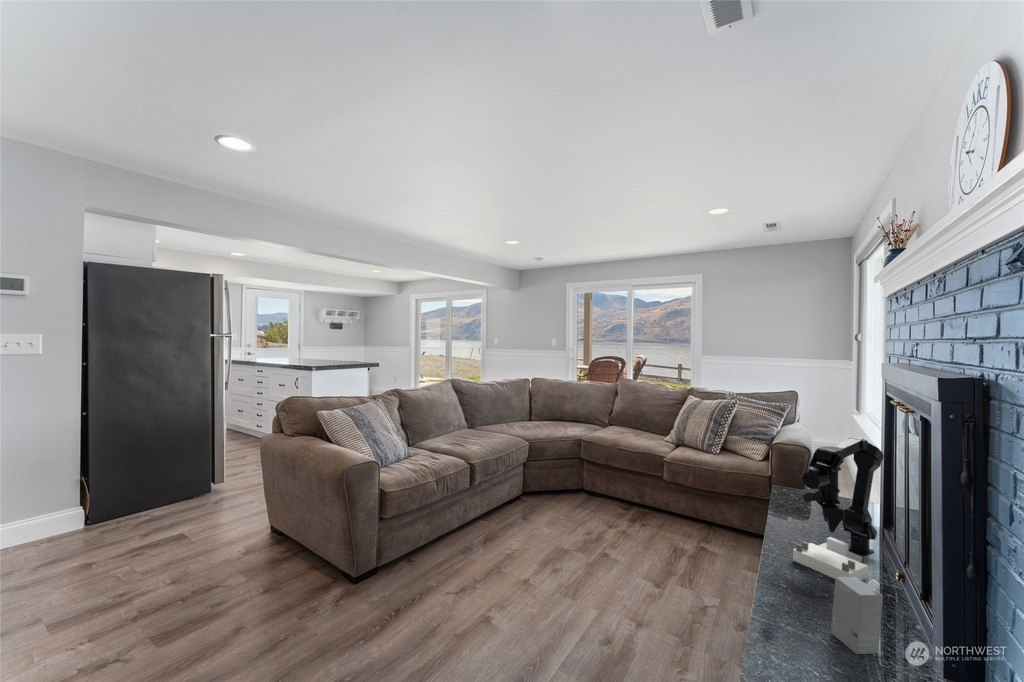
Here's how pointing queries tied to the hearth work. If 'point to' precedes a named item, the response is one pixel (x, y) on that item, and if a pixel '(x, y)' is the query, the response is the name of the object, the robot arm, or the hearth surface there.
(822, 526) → the hearth surface
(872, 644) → the skincare box
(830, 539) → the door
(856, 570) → the white box base
